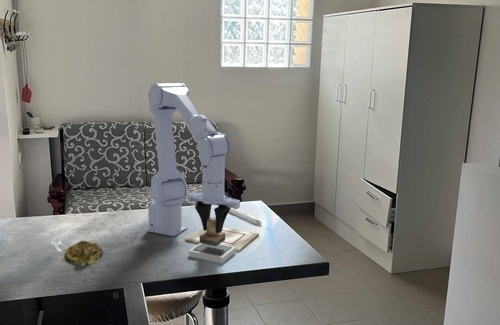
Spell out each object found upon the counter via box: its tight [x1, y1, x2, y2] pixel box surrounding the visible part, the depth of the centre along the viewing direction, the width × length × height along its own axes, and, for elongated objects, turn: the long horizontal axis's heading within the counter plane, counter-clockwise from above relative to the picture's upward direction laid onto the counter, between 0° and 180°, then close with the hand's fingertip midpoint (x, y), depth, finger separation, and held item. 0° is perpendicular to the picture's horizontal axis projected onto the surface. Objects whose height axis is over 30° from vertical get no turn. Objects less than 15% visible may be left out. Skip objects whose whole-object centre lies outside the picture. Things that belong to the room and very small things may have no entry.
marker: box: [228, 208, 263, 226], centre depth 161 cm, size 18×2×2 cm, turn 37°
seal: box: [64, 240, 104, 267], centre depth 128 cm, size 9×5×15 cm
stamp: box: [200, 216, 225, 246], centre depth 129 cm, size 5×5×6 cm
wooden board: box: [184, 226, 260, 252], centre depth 143 cm, size 17×14×1 cm
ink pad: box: [188, 243, 237, 264], centre depth 131 cm, size 10×8×2 cm
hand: (212, 230), depth 130 cm, fingers closed on stamp, 3 cm apart
